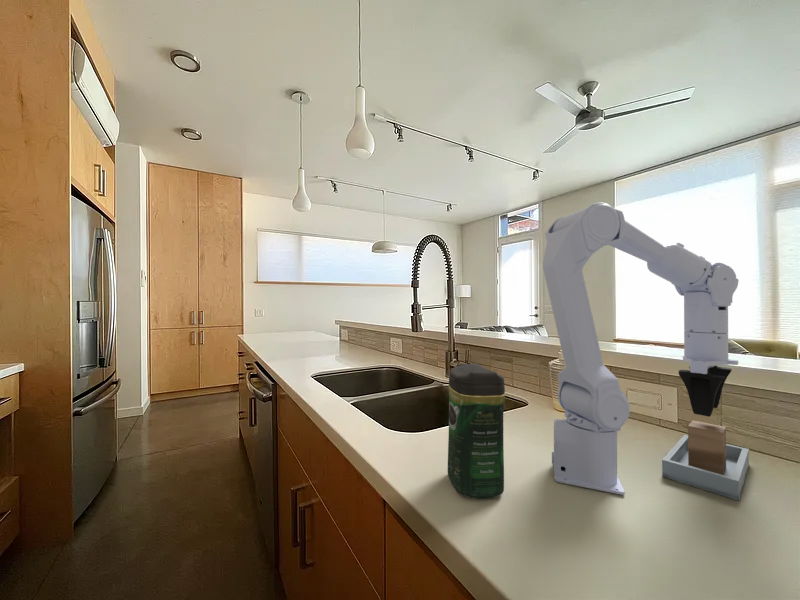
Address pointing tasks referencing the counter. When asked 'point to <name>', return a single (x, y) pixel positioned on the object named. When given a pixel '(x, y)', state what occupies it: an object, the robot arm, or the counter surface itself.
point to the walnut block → (707, 447)
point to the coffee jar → (476, 431)
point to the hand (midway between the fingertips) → (705, 410)
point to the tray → (720, 484)
